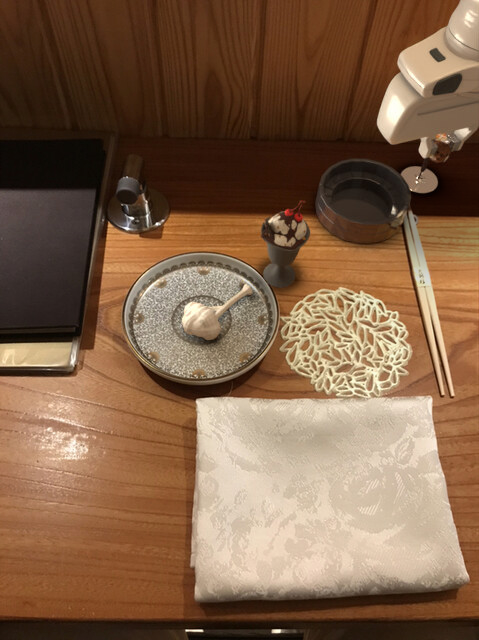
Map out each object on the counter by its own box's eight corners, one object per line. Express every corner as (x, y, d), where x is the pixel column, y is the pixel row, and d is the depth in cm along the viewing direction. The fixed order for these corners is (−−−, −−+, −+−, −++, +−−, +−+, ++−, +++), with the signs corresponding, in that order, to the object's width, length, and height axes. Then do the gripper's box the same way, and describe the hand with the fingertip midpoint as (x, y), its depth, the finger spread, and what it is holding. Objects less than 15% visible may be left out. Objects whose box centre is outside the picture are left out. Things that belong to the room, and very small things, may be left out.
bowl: (377, 173, 97) (385, 151, 93) (417, 234, 90) (427, 212, 86) (301, 191, 94) (305, 168, 90) (336, 255, 87) (342, 233, 83)
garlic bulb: (264, 286, 79) (200, 329, 73) (264, 311, 82) (203, 355, 76) (230, 266, 82) (166, 305, 76) (231, 291, 86) (170, 330, 80)
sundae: (308, 269, 85) (324, 198, 73) (288, 300, 82) (300, 232, 70) (270, 251, 87) (279, 179, 74) (249, 281, 84) (254, 211, 71)
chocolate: (420, 159, 77) (429, 135, 73) (428, 151, 78) (438, 127, 74) (439, 170, 76) (449, 146, 72) (447, 161, 77) (458, 138, 73)
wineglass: (443, 201, 94) (486, 109, 79) (394, 194, 94) (428, 102, 79) (441, 167, 98) (482, 74, 83) (394, 161, 99) (427, 67, 83)
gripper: (539, 25, 67) (491, 121, 79) (386, 54, 63) (360, 151, 75) (571, 55, 64) (517, 150, 76) (414, 88, 60) (382, 183, 72)
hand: (438, 151), depth 75 cm, fingers closed on chocolate, 2 cm apart
